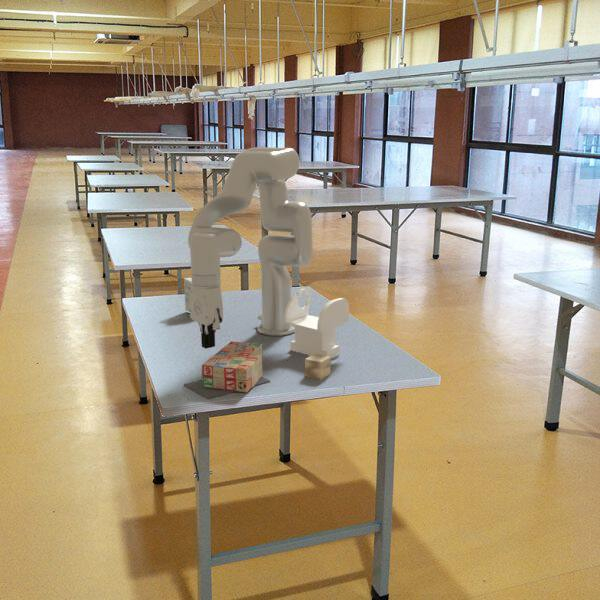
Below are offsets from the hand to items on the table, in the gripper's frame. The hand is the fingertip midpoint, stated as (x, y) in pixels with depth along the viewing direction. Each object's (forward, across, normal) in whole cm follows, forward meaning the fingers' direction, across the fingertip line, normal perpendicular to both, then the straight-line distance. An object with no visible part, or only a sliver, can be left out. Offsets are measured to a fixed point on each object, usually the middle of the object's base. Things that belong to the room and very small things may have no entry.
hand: (208, 346), depth 183 cm
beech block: (+8, +18, +23) cm, 30 cm away
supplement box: (+8, -57, +30) cm, 65 cm away
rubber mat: (+8, +8, 0) cm, 11 cm away
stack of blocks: (+5, +1, +2) cm, 5 cm away
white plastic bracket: (+8, +3, +35) cm, 36 cm away
